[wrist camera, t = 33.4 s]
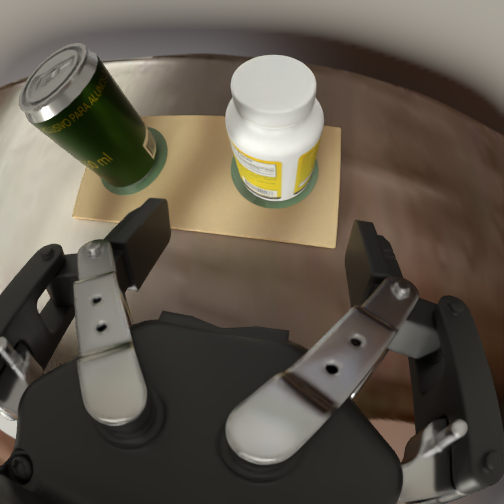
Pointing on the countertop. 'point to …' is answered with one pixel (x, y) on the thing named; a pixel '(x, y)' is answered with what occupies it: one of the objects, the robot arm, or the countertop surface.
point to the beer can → (89, 116)
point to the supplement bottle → (274, 125)
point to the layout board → (220, 187)
